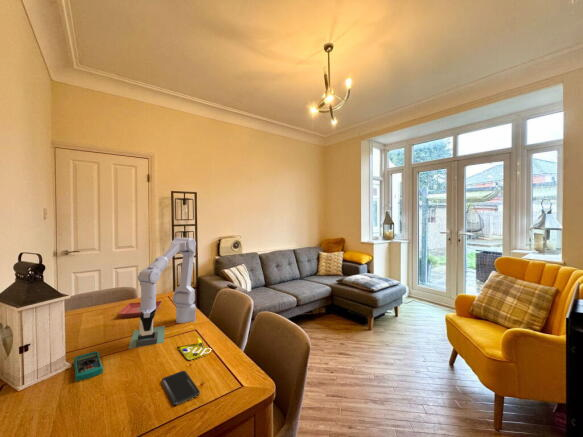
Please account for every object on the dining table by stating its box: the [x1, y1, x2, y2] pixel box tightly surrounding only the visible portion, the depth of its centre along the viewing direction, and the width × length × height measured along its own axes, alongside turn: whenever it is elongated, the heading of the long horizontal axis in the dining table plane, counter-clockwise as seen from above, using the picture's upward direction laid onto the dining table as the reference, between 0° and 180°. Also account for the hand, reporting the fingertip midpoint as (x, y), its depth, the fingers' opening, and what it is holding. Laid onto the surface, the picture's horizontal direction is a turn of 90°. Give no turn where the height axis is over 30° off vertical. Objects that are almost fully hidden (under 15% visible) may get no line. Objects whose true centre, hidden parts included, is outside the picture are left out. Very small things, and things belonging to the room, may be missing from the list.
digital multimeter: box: [73, 351, 104, 382], centre depth 90 cm, size 7×15×3 cm, turn 43°
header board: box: [128, 325, 166, 349], centre depth 113 cm, size 13×18×3 cm
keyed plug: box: [139, 318, 154, 336], centre depth 108 cm, size 5×4×7 cm
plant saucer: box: [118, 300, 163, 319], centre depth 144 cm, size 18×18×3 cm
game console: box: [176, 336, 213, 361], centre depth 106 cm, size 18×11×2 cm, turn 44°
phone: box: [161, 370, 201, 407], centre depth 81 cm, size 8×1×15 cm
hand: (147, 328), depth 108 cm, fingers closed on keyed plug, 4 cm apart
